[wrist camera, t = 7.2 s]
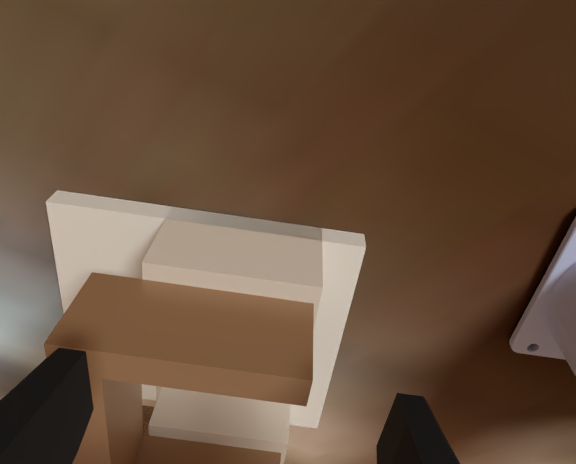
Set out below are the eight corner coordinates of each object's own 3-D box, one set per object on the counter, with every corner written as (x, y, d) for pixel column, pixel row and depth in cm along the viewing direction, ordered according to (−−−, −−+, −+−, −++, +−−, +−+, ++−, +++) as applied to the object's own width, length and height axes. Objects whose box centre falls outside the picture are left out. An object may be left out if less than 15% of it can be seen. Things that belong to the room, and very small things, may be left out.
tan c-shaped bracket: (313, 303, 17) (312, 380, 14) (277, 467, 23) (271, 547, 20) (91, 272, 17) (44, 343, 14) (110, 445, 22) (79, 523, 19)
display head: (364, 234, 20) (373, 294, 17) (317, 412, 27) (317, 482, 23) (57, 190, 20) (3, 242, 16) (85, 381, 26) (50, 448, 23)
